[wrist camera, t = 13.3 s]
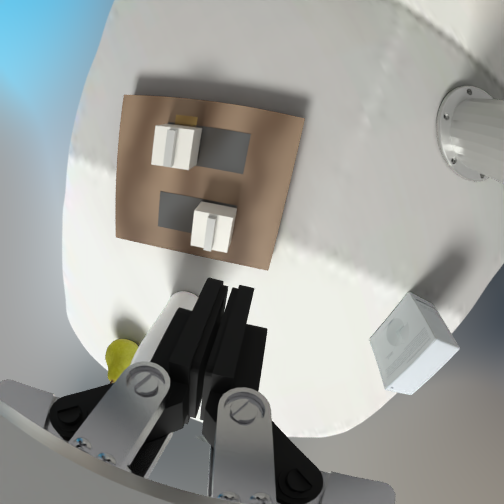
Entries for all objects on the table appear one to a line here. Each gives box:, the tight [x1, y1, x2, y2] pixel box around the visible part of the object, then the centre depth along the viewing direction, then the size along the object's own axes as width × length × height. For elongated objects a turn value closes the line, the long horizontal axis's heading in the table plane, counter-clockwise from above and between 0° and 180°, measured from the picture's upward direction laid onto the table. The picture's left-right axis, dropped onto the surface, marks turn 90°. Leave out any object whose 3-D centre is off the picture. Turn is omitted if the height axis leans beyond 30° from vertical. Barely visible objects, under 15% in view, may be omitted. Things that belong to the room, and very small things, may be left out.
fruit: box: [105, 339, 138, 384], centre depth 43 cm, size 7×7×12 cm
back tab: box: [191, 201, 237, 253], centre depth 31 cm, size 4×4×4 cm
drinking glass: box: [130, 291, 198, 365], centre depth 35 cm, size 7×7×15 cm
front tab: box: [151, 124, 202, 170], centre depth 27 cm, size 4×4×4 cm
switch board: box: [116, 95, 305, 270], centre depth 32 cm, size 20×18×2 cm
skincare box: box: [369, 292, 460, 395], centre depth 36 cm, size 10×6×10 cm, turn 155°
